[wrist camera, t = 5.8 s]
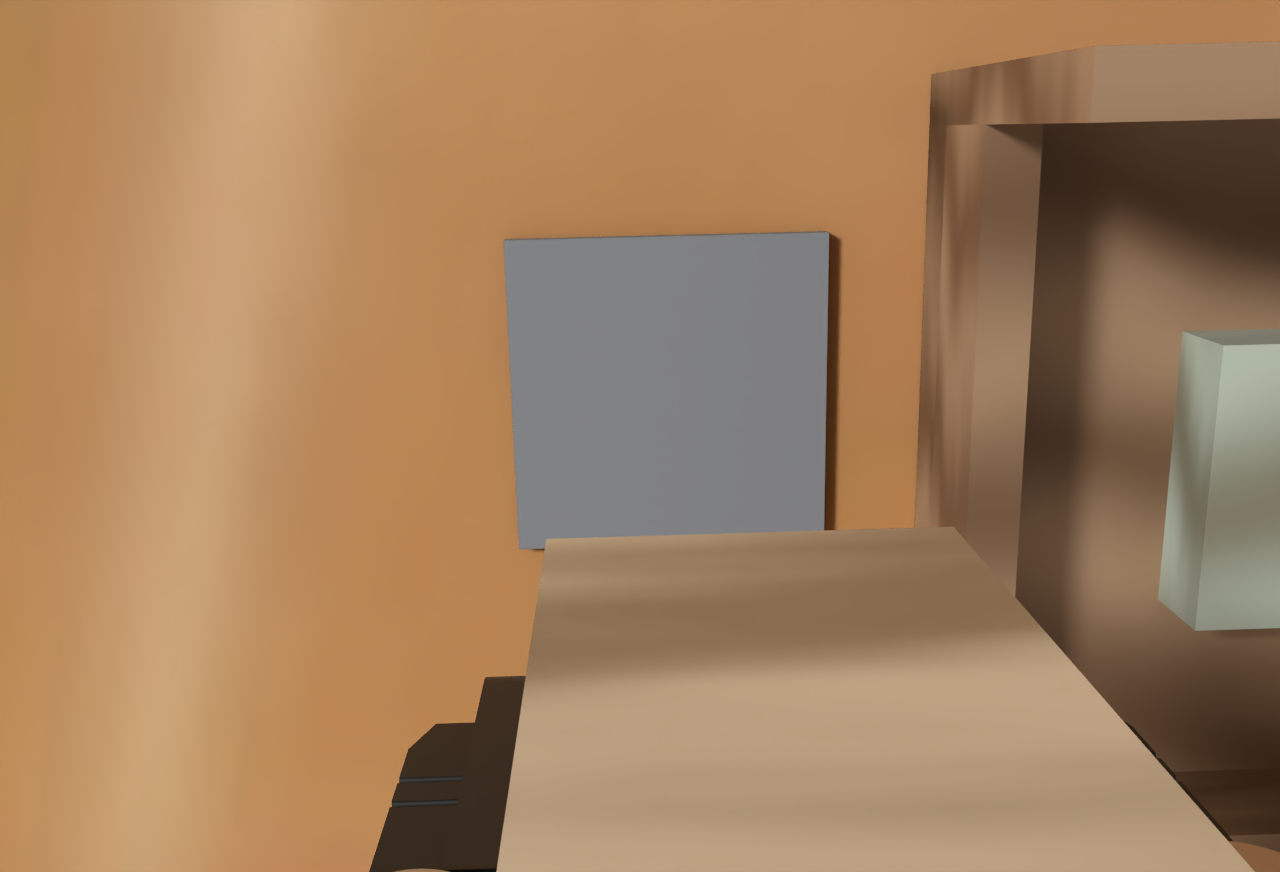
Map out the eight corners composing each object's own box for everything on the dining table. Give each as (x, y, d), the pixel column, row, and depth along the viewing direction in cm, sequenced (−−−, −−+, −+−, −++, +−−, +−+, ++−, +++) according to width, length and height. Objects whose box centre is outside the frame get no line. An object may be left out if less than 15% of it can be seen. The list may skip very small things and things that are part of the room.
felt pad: (505, 239, 30) (503, 240, 29) (826, 231, 30) (829, 232, 29) (520, 543, 32) (519, 549, 31) (821, 535, 32) (823, 539, 31)
